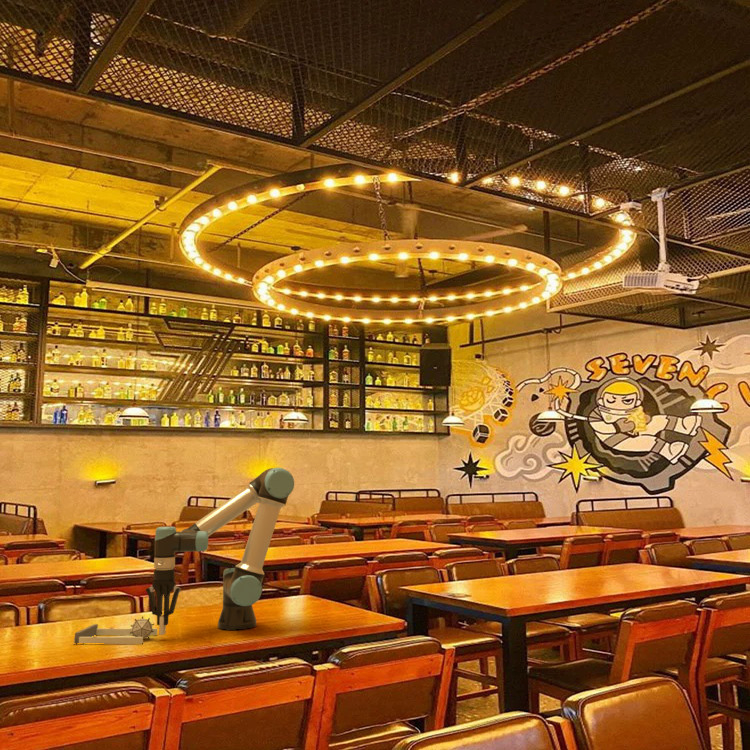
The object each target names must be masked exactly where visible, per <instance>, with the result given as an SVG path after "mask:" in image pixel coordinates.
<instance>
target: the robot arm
mask: <svg viewBox="0 0 750 750" xmlns="http://www.w3.org/2000/svg"><path fill="white" fill-rule="evenodd" d="M294 479H295V478H294V476H293V475H292V473H291V472H290V471H289V470H287V469H286V468H283V467H274V468H273V467H272V468H268V469H266V470H264V471H263V472H261V473H260V474H259V475H257V476H256V478H254V479H252V480H251V481H250V482H248V483H247V486H246V488H244V489H242V490H241V491H239V492H238V493H237V494H235V495H234V496H232V497H230V499H228V500H227V501H225V502H224V503H222V504H221V505H219V506H218V507H216V508H215V509H214V510H212V511H211V512H209V513H208V514H205V516H204V517H201V519H199V520H198V521H195V523H193V524H192V525H190V526H188V528H184V529H183V530H181V531H177V528H176V527H175V526H159V527H156V529H155V533H154V534H155V535H154V559H153V561H154V562H153V568H154V570H153V582H152V584H151V586H149V587H147V588H146V589H145V591H146V593H147V594H148V600H149V606H150V610H151V614H152V615H154V616H156V625H157V626H158V627H159V629H158V630H159V631H158V635H159V636H164V635H165V634H166V627H167V625H169V616H170V615H173V614H174V613H175V608H176V604H177V602H178V597H179V594H180V593H181V591H182V587H179V586H177V584H176V582H175V576H176V575H175V574H176V573H175V572H176V571H175V566H176V553H181V552H182V553H186V552H189V553H190V552H197V553H198V552H205V551H207V550H208V547H209V537H210V536H211V535H212V534H214V533H216V532H217V531H218V530H220V529H222V528H223V527H224V526H226V525H228V524H229V523H230V522H231V521H233V520H234V519H236V518H237V517H239V516H240V515H242V514H243V513H244V512H246V511H248V510H249V509H250V508H252V507H253V506H255V505H256V504H257V503H259V504H258V508H257V511H256V513H255V517H254V520H253V523H252V526H251V530H250V532H249V535H248V538H247V542H246V544H245V549H244V551H243V555H242V558H241V561H240V563H238V564H236V565H235V567H231V568H225V569H224V570H223V575H222V578H223V579H222V580H223V581H222V583H223V584H222V607H221V612H220V615H219V618H218V621H217V628H218V629H219V628H220V630H223V629H226V631H237V630H236V629H244V630H248V629H247V628H250V629H253V628H252V627H254V628H255V626H257V619H256V615H255V611H254V607H253V605H254V604H255V603H257V602H258V600H259V599H260V598H261V595H262V593H263V592H262V591H263V586H262V585H263V584H262V583H263V579H264V577H265V572H264V570H263V567H264V564H265V561H266V556H267V553H268V551H269V547H270V544H271V541H272V536H273V534H274V531H275V528H276V524H277V521H278V518H279V515H280V511H281V509H283V507H284V508H285V506H286V504H287V502H288V499H289V497H290V495H291V494H292V492H293V491H294V488H295V480H294ZM154 591H155V592H156V598H157V600H156V598H155V593H154ZM172 591H173V595H172V598H171V602H170V597H171V592H172Z"/></svg>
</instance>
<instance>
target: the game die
mask: <svg viewBox="0 0 750 750" xmlns="http://www.w3.org/2000/svg"><path fill="white" fill-rule="evenodd" d="M150 619H151V618H150V617H148V619H147V618H144V616H142V617H141V618H140V619H136V618H135V619H134V623H133V624H131V625H130V627H131V628H132V632H130V634H131V633H132V634H133V635H134V636H133V637H143V640H144V639H146V638H147V639H150V636H149V635H150V633H151V632H154V631H152V628H153V626H154V625H155V623H151V621H150Z"/></svg>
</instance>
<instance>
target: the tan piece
mask: <svg viewBox="0 0 750 750" xmlns="http://www.w3.org/2000/svg"><path fill="white" fill-rule="evenodd" d="M98 627H99V625H98V624H97V623H95V624H92V625H89V626H88V627H85V628H83V629H81V630H79V631H76V632H75V633H74V637H73V644H74V643H104V644H142V643H143V644H144V639H143V637H135V636H94V635H133V634H132V633H131V634H130V632H132V627H131V628H127V627H126V628H124V627H123V628H122V627H121V628H120V627H119V628H117V627H116V628H115V627H109V628H98ZM152 631H154V632H151V633H150V635H157V636H158V628H156V627H155V628H154V627H152ZM92 636H93V637H92ZM143 644H142V645H143Z"/></svg>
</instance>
